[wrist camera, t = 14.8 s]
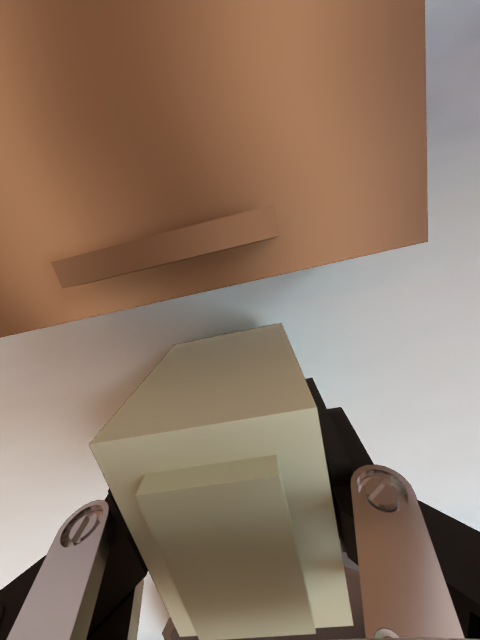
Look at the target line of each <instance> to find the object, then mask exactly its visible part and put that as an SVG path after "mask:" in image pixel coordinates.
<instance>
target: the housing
mask: <svg viewBox="0 0 480 640" xmlns="http://www.w3.org/2000/svg"><path fill="white" fill-rule="evenodd" d="M424 242H428V211H427V138H426V66H425V0H0V338H1V337H5V336H9V335H14V334H18V333H23V332H27V331H32V330H36V329H41V328H45V327H50V326H54V325H58V324H63V323H67V322H72V321H76V320H81V319H85V318H90V317H94V316H99V315H103V314H107V313H112V312H116V311H121V310H125V309H130V308H134V307H139V306H143V305H148V304H152V303H156V302H161V301H165V300H170V299H174V298H179V297H183V296H188V295H192V294H197V293H201V292H205V291H210V290H214V289H219V288H223V287H228V286H232V285H237V284H241V283H246V282H250V281H254V280H259V279H263V278H268V277H272V276H277V275H281V274H286V273H290V272H295V271H299V270H303V269H308V268H312V267H317V266H321V265H326V264H330V263H335V262H339V261H344V260H348V259H352V258H357V257H361V256H366V255H370V254H375V253H379V252H384V251H388V250H393V249H397V248H401V247H406V246H410V245H415V244H419V243H424Z"/></svg>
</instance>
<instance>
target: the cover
mask: <svg viewBox="0 0 480 640" xmlns="http://www.w3.org/2000/svg"><path fill="white" fill-rule="evenodd" d="M89 446H90V448H91V450H92V452H93V455H94V457H95V459H96V461H97V463H98V465H99V467H100V469H101V471H102V474H103V476H104V478H105V480H106V482H107V484H108V486H109V488H110V490H111V493H112V495H113V497H114V499H115V501H116V503H117V505H118V507H119V509H120V512H121V514H122V516H123V518H124V520H125V522H126V524H127V526H128V528H129V531H130V533H131V535H132V537H133V539H134V541H135V543H136V545H137V547H138V550H139V552H140V554H141V556H142V558H143V560H144V562H145V564H146V566H147V569H148V571H149V573H150V575H151V577H152V579H153V581H154V583H155V585H156V588H157V590H158V592H159V594H160V596H161V598H162V600H163V602H164V604H165V607H166V609H167V611H168V613H169V615H170V617H171V619H172V621H173V623H174V626H175V628H176V630H177V632H178V634H179V636H180V637H185V636H198V639H199V640H225V639H241V638H257V637H273V636H289V635H305V634H316V630H315V628H325V627H340V626H354V625H353V619H352V613H351V607H350V601H349V595H348V589H347V584H346V578H345V572H344V566H343V560H342V554H341V548H340V542H339V536H338V530H337V524H336V518H335V512H334V506H333V500H332V494H331V488H330V482H329V476H328V470H327V464H326V458H325V452H324V446H323V440H322V434H321V429H320V423H319V417H318V411H317V406H316V404H315V402H314V399H313V397H312V394H311V392H310V390H309V387H308V385H307V383H306V380H305V378H304V376H303V373H302V371H301V368H300V366H299V364H298V361H297V359H296V357H295V354H294V352H293V350H292V347H291V345H290V342H289V340H288V338H287V335H286V333H285V331H284V328H283V326H282V323H278V324H273V325H268V326H263V327H258V328H253V329H249V330H244V331H239V332H234V333H229V334H224V335H219V336H214V337H209V338H204V339H199V340H194V341H190V342H185V343H180V344H175V345H174V346H173V347H172V348H171V349H170V350H169V351H168V353H167V354H166V355H165V356H164V357H163V358H162V360H161V361H160V362H159V363H158V364H157V365H156V367H155V368H154V369H153V370H152V371H151V372H150V374H149V375H148V376H147V377H146V378H145V379H144V381H143V382H142V383H141V384H140V385H139V386H138V388H137V389H136V390H135V391H134V392H133V393H132V395H131V396H130V397H129V398H128V399H127V400H126V402H125V403H124V404H123V405H122V406H121V407H120V409H119V410H118V411H117V412H116V413H115V414H114V416H113V417H112V418H111V419H110V420H109V421H108V423H107V424H106V425H105V426H104V427H103V428H102V430H101V431H100V432H99V433H98V434H97V435H96V437H95V438H94V439H93V440H92V441H91V442H90V444H89Z"/></svg>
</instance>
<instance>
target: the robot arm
mask: <svg viewBox="0 0 480 640" xmlns="http://www.w3.org/2000/svg"><path fill="white" fill-rule="evenodd" d="M305 380H306V383H307V385H308V387H309V390H310V392H311V394H312V397H313V399H314V402H315V404H316V406H317V411H318V417H319V423H320V429H321V434H322V440H323V446H324V452H325V458H326V464H327V470H328V476H329V482H330V488H331V494H332V500H333V506H334V512H335V518H336V524H337V530H338V536H339V540H340V543H341V547H342V550H343V552H346V553H347V556H348V558H349V559H350V560H352V561H353V562H354V563H355V564H356V565H358V566H359V574H360V584H361V594H362V604H363V614H364V625H365V635H366V639H337V640H480V532H479V531H477V530H475V529H473V528H471V527H469V526H467V525H465V524H463V523H461V522H459V521H458V520H456V519H454V518H452V517H450V516H448V515H446V514H444V513H442V512H440V511H438V510H436V509H434V508H432V507H430V506H429V505H427V504H425V503H423V502H421V501H419V500H417V498H416V495H415V492H414V491H413V489H412V487H411V485H410V484H409V483H408V481H407V480H406V479H405V478H404V477H403V476H401V475H400V474H399V473H397V472H396V471H394V470H392V469H390V468H387V467H385V466H380V465H374V464H373V462H372V460H371V458H370V457H369V455H368V453H367V451H366V450H365V448H364V446H363V444H362V443H361V441H360V439H359V437H358V436H357V434H356V432H355V430H354V428H353V427H352V425H351V423H350V421H349V420H348V418H347V416H346V414H345V413H344V411H343V409H342V408H341V407H338V408H332V409H327V408H326V406H325V404H324V402H323V400H322V398H321V396H320V393H319V391H318V389H317V387H316V385H315V383H314V381H313V379H312V378H308V379H305ZM108 493H109V494H108V495H107V497H106V499H105V501H104V500H96V501H92V502H90V503H88V504H86V505H84V506H82V507H81V508H79V509H78V510H77V511H75V512H74V513H73V514H72V515H71V516H70V517H69V518H68V519H67V520H66V521H65V523H64V524H63V525H62V526H61V528H60V530H59V531H58V533H57V535H56V537H55V539H54V541H53V543H52V545H51V547H50V549H49V551H48V553H47V555H46V556H44V557H43V558H42V559H40V560H39V561H38V562H36V563H35V564H34V565H33V566H31V567H30V568H29V569H27V570H26V571H25V572H24V573H22V574H21V575H20V576H18V577H17V578H16V579H14V580H13V581H12V582H11V583H9V584H8V585H7V586H5V587H4V588H3V589H1V590H0V640H137V633H138V625H139V617H140V609H141V601H142V593H143V585H144V577H145V576H146V575H147V571H148V569H147V566H146V564H145V562H144V560H143V558H142V556H141V554H140V552H139V550H138V547H137V545H136V543H135V541H134V539H133V537H132V535H131V533H130V531H129V528H128V526H127V524H126V522H125V520H124V518H123V516H122V514H121V512H120V509H119V507H118V505H117V503H116V501H115V499H114V497H113V495H112V493H111V490H110V488H109V490H108Z"/></svg>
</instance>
